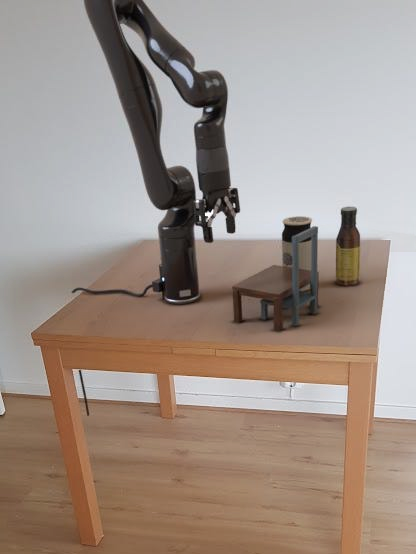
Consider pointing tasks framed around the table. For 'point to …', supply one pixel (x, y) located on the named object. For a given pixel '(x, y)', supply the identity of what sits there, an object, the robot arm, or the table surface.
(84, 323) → the table surface
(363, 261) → the table surface
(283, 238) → the travel mug
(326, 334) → the table surface
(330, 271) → the table surface
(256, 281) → the walnut table
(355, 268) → the sauce bottle
